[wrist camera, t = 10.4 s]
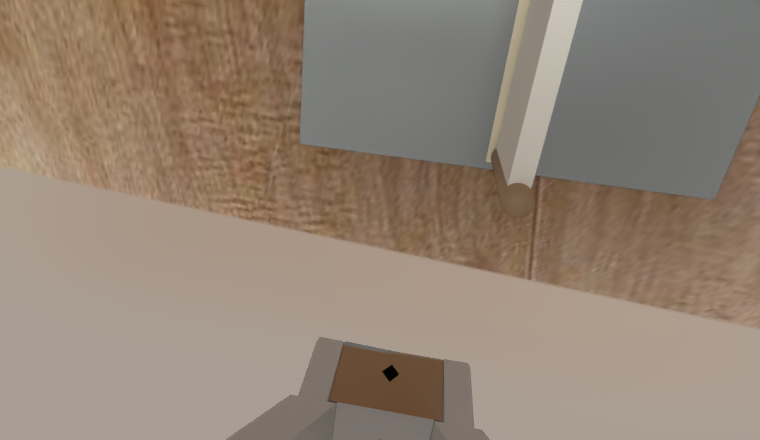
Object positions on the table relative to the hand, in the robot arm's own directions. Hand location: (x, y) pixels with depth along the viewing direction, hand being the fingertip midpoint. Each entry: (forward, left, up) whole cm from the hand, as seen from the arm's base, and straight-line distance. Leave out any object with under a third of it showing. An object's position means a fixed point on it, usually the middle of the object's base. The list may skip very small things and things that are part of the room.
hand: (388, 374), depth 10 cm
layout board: (-6, -4, -24) cm, 25 cm away
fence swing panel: (-5, -2, -23) cm, 24 cm away
